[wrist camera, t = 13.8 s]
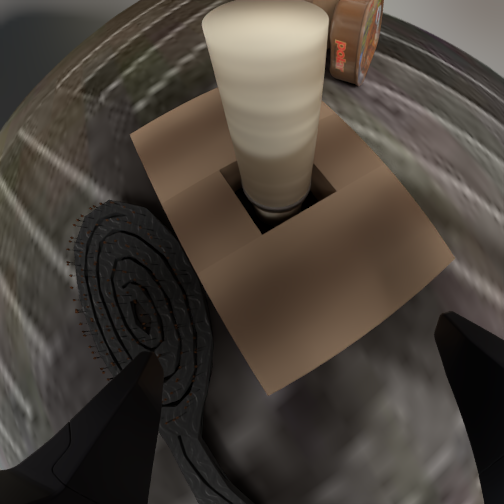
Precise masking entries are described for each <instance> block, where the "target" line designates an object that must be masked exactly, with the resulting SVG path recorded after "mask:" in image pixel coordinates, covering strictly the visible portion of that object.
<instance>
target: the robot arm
mask: <svg viewBox="0 0 504 504" xmlns="http://www.w3.org/2000/svg"><path fill="white" fill-rule="evenodd" d="M434 337H435V341H436V344H437V347H438V350H439V353H440V356H441V360H442V363H443V366H444V369H445V373H446V376H447V378H448V381H449V384H450V386H451V389H452V391H453V394H454V397H455V399H456V402H457V405H458V407H459V410H460V413H461V416H462V419H463V422H464V425H465V428H466V431H467V434H468V437H469V441H470V444H471V447H472V451H473V454H474V458H475V462H476V466H477V470H478V474H479V479H480V483H481V488H482V493H483V498H484V504H504V340H503V339H501V338H499V337H497V336H496V335H494V334H492V333H490V332H489V331H487V330H485V329H483V328H482V327H480V326H478V325H476V324H475V323H473V322H471V321H469V320H467V319H466V318H464V317H462V316H460V315H458V314H457V313H455V312H453V311H449V312H445V313H442V314H441V315H440V317H439V320H438V323H437V326H436V329H435V333H434ZM163 381H164V370H163V368H162V366H161V364H160V362H159V360H158V358H157V356H156V354H155V353H154V352H152V351H143V352H140V353H139V354H138V355H137V356H136V357H135V358H134V359H133V360H132V361H131V362H130V363H129V364H128V365H127V366H126V367H125V368H124V369H123V370H122V371H121V372H120V373H119V374H117V375H116V376H115V377H114V378H113V379H112V380H111V381H110V382H109V383H108V384H107V385H106V386H105V387H104V388H103V389H102V390H101V391H100V392H99V393H98V394H97V395H96V396H95V397H94V398H93V399H92V400H91V401H90V402H89V403H88V404H87V405H86V406H85V407H84V408H82V409H81V410H80V411H79V412H78V413H77V414H76V415H75V416H74V417H73V418H72V419H71V420H70V422H68V423H67V424H66V425H65V426H64V427H63V428H62V429H61V430H60V431H59V432H58V433H57V434H55V435H54V436H53V437H52V438H51V439H50V440H49V441H47V442H46V443H45V444H44V445H43V446H42V447H40V448H39V449H38V450H36V451H35V452H34V453H33V454H31V455H30V456H29V457H28V458H26V459H25V460H24V461H22V462H21V463H20V464H18V465H17V466H15V467H13V468H10V469H7V470H0V504H147V503H148V495H149V488H150V481H151V474H152V467H153V460H154V454H155V448H156V442H157V436H158V430H159V425H160V419H161V409H162V394H163Z"/></svg>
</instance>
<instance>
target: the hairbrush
mask: <svg viewBox="0 0 504 504" xmlns="http://www.w3.org/2000/svg"><path fill="white" fill-rule="evenodd" d="M99 204H100V205H101V206H99V207H97V209H94V211H92V212H91V213H89V214H88V215H87V216H84V217H85V218H84V221H83V224H82V226H80V227H81V229H80V232H79V235H78V238H75V239H77V240H76V242H75V246H74V255H75V266H76V276H77V284H78V292H79V298H80V301H81V304H82V307H83V311H84V313H85V316H86V319H87V322H88V325H89V328H90V330H91V333H92V336H93V338H94V341H95V344H96V346H97V349H98V352H99V354H100V355H101V357H102V359H103V360H104V362H105V364H106V365H107V368H108V369H109V370H110V372H111V373H112V375H113V377H115V376H116V375H117V374H119V373H120V372H121V371H122V370H123V369H124V368H125V367H126V366H127V365H128V364H129V363H130V362H131V361H132V360H133V359H134V358H135V357H136V356H137V355H138V354H139V353H140V352H143V351H152V352H154V353H155V354H156V356H157V358H158V360H159V362H160V364H161V366H162V368H163V370H164V378H165V377H168V376H170V375H173V374H174V371H175V369H176V367H177V365H178V363H179V361H180V354H181V361H180V367H178V368H179V370H178V371H177V372H176V373H175V374H174V375H173V376H172V377H171V378H170V379H169V380H164V381H163V394H162V409H161V419H160V425H159V430H158V431H159V433H160V434H161V436H162V437H163V439H164V440H165V442H166V443H167V445H168V446H169V448H170V449H171V451H172V453H173V455H174V457H175V459H176V461H177V463H178V465H179V467H180V469H181V471H182V473H183V475H184V477H185V479H186V481H187V483H188V484H189V486H190V488H191V490H192V492H193V493H194V495H195V497H196V499H197V501H198V503H199V504H254V503H253V502H252V501H251V500H250V499H249V498H247V497H246V496H245V495H244V494H243V493H242V492H241V491H240V490H239V489H238V488H236V487H235V486H234V485H233V484H232V483H231V482H230V481H229V480H228V478H227V477H226V475H225V474H224V472H223V470H222V469H221V467H220V466H219V464H218V463H217V461H216V459H215V458H214V456H213V455H212V453H211V451H210V450H209V448H208V446H207V445H206V443H205V441H204V440H203V438H202V426H203V408H204V402H205V398H206V395H207V392H208V385H209V381H210V378H209V376H210V377H211V375H210V368H211V360H212V353H213V338H212V331H211V324H210V316H209V310H208V305H207V301H206V298H205V295H204V292H203V289H202V286H201V283H200V280H199V277H198V275H197V273H196V271H195V270H194V268H193V266H192V264H191V262H190V260H189V258H188V256H187V254H186V252H185V250H184V248H183V247H182V245H181V244H180V243H179V242H178V241H177V239H176V238H175V237H174V235H173V234H172V233H171V232H170V230H169V229H168V228H167V227H166V226H165V225H164V224H163V223H162V222H161V221H160V220H159V219H158V218H157V217H156V216H154V215H153V214H152V213H151V212H150V211H149V210H148V209H147V208H145V207H142V206H139V205H134V204H129V203H123V202H118V201H113V200H108V201H107V202H105V203H104V204H102V203H99ZM93 207H94V208H95V207H96V206H94V205H93ZM89 209H90V210H92V208H91V207H90V208H89ZM81 217H83V215H81ZM76 220H77V221H80V220H79V219H76ZM72 225H73V226H76V225H75V224H72ZM123 233H126V234H123ZM127 234H135V235H137V236H139V237H140V238H142V239H144V240H145V241H147V242H148V243H149V244H150V245H152V246H153V247H154V248H156V249H157V250H158V251H159V252H161V253H162V254H163V255H164V256H165V257H166V258H167V260H168V262H169V263H170V265H171V267H172V269H173V270H174V271H173V270H172V269H171V267H170V266H169V265H168V264H167V263H166V262H165V260H164V259H163V258H162V257H161V256H160V255H159V254H158V253H157V252H156V251H155V250H154V249H152V248H151V247H149V246H148V245H147V244H145V243H144V242H143V241H141V240H139V239H138V238H137V237H134V236H130V235H127ZM70 238H71V239H73V237H70ZM69 242H72V241H70V240H69ZM66 250H69V249H66ZM124 259H126V260H124ZM130 259H136V260H138V261H139V262H141V263H142V264H144V265H145V266H146V267H148V268H149V269H150V270H152V272H153V274H152V273H151V272H150V271H148V270H147V269H146V268H145V267H143V266H142V265H140V264H137V263H135V262H133V261H132V260H130ZM67 263H71V262H68V261H67ZM67 265H69V264H67ZM174 272H175V273H174ZM154 275H155V276H154ZM69 276H70V277H72V275H69ZM176 276H177V277H178V279H179V281H180V282H179V281H178V279H177V277H176ZM155 277H156V278H157V279H156V278H155ZM158 281H159V283H160V285H161V286H162V288H163V289H164V291H165V293H166V294H167V296H168V297H169V299H170V301H171V305H172V308H173V311H172V309H171V307H170V304H169V300H168V299H167V297H166V295H165V294H164V291H162V289H161V286H160V285H158V283H157V282H158ZM134 283H138V284H140V285H139V286H138V285H137V284H134ZM180 284H182V286H183V288H184V290H185V291H186V294H187V295H184V293H183V290H182V287H181V285H180ZM142 287H146V288H147V290H148V292H149V294H150V296H151V297H150V296H149V294H148V293H147V292H146V291H145V289H142ZM70 288H71V289H73V287H70ZM186 296H187V297H188V301H189V305H190V309H189V306H188V302H187V300H186ZM151 298H152V299H151ZM152 300H153V301H152ZM73 301H76V300H75V299H73ZM136 301H138V303H140V305H141V306H142V307H143V309H144V310H145V311H146V312H147V314H140V315H141V316H142V315H149V316H150V318H151V319H152V321H151V322H150V323H151V327H147V328H150V334H149V335H148V334H147V332H146V331H145V329H146V327H144V328H143V326H142V325H141V324H140V322H139V321H138V319H137V318H136V316H137V315H136V314H135V313H136V312H135V307H134V303H135V304H136V303H137V302H136ZM153 302H154V303H153ZM190 310H191V312H192V316H193V320H194V323H195V327H196V330H197V349H196V341H195V338H196V337H195V333H194V327H193V321H192V317H191V314H190ZM75 311H76V312H75V313H79V312H78V311H77V309H75ZM173 312H174V315H175V318H176V320H175V318H174V315H173ZM161 319H162V321H163V327H164V336H165V340H163V338H164V336H163V329H162V322H161ZM176 321H177V324H176ZM85 324H87V323H85ZM79 325H82V323H80V324H79ZM143 325H145V323H143ZM177 326H178V327H177ZM178 328H179V331H180V334H181V337H182V338H181V339H182V340H183V342H182V351H181V341H180V336H179V332H178ZM131 330H132V331H131ZM82 332H83V333H84V332H88V331H82ZM132 332H133V333H134V334H135V336H136V337H137V338H138V339H137V338H136V337H135V336H134V335H133V333H132ZM83 336H85V337H86V335H85V334H84V335H83ZM121 339H122V340H121ZM162 340H163V342H162ZM122 341H123V342H122ZM161 342H162V343H161ZM123 343H124V344H123ZM141 343H142V344H144V345H146V346H148V347H150V348H154V347H158V346H159V347H158V348H157V349H156V350H150V349H146V348H145V347H144V346H143V345H142V344H141ZM160 343H161V344H160ZM159 344H160V345H159ZM124 345H125V346H124ZM92 347H93V346H92ZM125 347H126V348H127V350H128V351H127V350H126V348H125ZM89 348H91V346H89ZM128 352H129V353H128ZM91 353H92V354H93V353H94V352H91ZM196 353H197V366H198V370H197V373H196V375H194V373H195V368H196V367H197V366H196ZM130 355H131V356H130ZM97 358H100V357H97ZM93 359H96V357H94V358H93ZM212 367H213V366H212ZM100 369H101V370H103V369H105V368H100ZM176 370H177V369H176ZM211 372H212V371H211ZM102 373H103V374H104V373H105V372H104V371H103V372H102ZM194 377H195V379H194ZM110 379H113V378H110ZM110 379H109V378H108V379H107V380H108V381H109V380H110ZM191 382H192V383H193V385H192V383H191ZM190 384H191V385H192V388H191V392H190V393H189V394H188V395H187V396H186V397H185V398H184V399H183V400H182V401H181V402H180V403H179V404H177V405H174V404H169V403H171V402H174V401H178V400H179V399H181V397H182V396H183V395H184V394H185V393H186V391H187V390H188V389H189V388H190V386H191V385H190Z"/></svg>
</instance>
